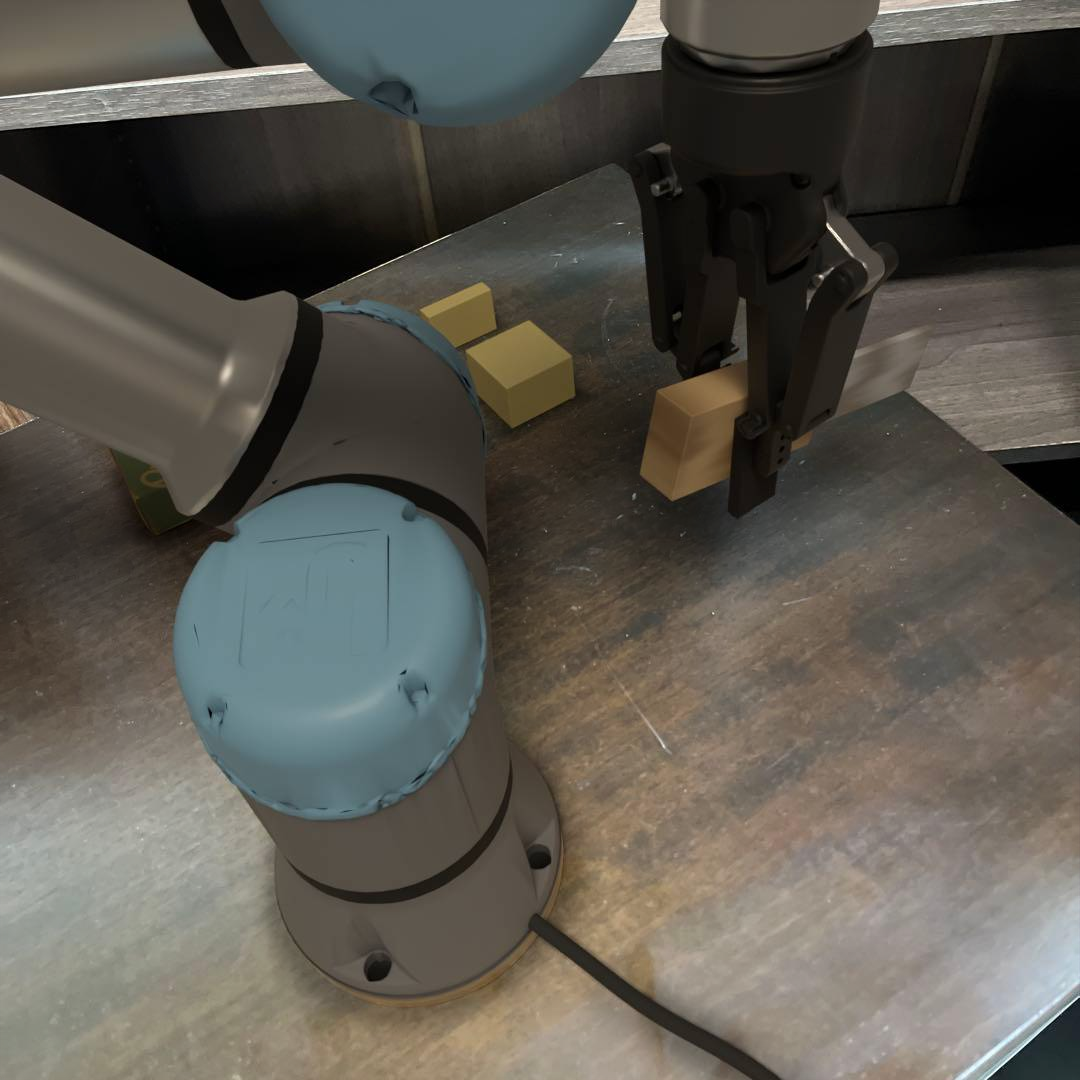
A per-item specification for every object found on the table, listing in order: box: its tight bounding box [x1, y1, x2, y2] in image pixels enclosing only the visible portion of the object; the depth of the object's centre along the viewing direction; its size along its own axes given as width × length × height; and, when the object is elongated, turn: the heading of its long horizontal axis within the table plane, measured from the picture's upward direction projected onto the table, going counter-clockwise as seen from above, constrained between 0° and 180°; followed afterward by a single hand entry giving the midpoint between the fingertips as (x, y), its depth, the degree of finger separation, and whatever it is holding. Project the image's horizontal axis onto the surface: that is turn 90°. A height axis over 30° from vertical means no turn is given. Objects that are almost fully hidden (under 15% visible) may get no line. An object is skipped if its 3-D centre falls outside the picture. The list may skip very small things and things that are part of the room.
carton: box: [108, 447, 194, 536], centre depth 75 cm, size 8×16×4 cm, turn 121°
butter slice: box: [419, 281, 498, 349], centre depth 83 cm, size 2×6×4 cm, turn 123°
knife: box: [639, 324, 934, 502], centre depth 52 cm, size 20×2×5 cm, turn 126°
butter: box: [465, 319, 576, 429], centre depth 77 cm, size 6×6×4 cm
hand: (730, 486), depth 53 cm, fingers closed on knife, 2 cm apart
